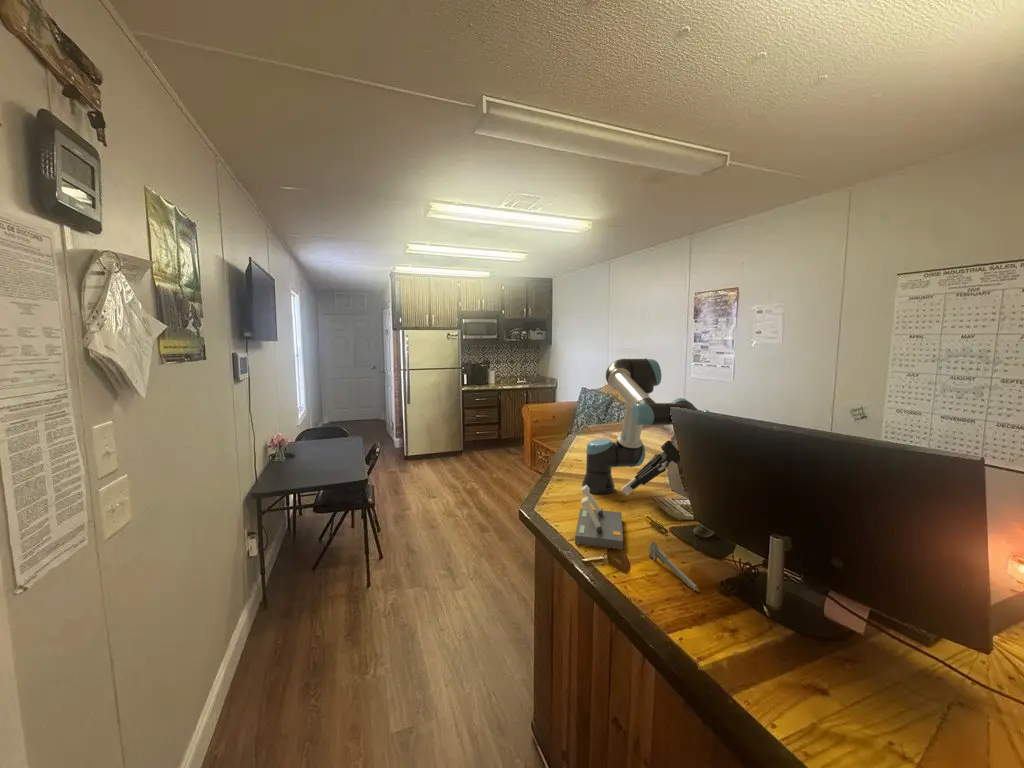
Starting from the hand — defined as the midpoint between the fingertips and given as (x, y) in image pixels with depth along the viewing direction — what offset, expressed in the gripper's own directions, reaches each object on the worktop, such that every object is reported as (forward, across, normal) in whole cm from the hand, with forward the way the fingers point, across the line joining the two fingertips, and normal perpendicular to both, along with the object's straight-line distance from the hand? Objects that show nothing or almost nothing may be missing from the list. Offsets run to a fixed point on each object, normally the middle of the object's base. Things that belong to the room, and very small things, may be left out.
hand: (624, 492), depth 141 cm
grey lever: (+15, 0, -4) cm, 16 cm away
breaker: (+16, +14, -4) cm, 21 cm away
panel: (+18, +7, -7) cm, 21 cm away
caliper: (+3, -16, -23) cm, 29 cm away
